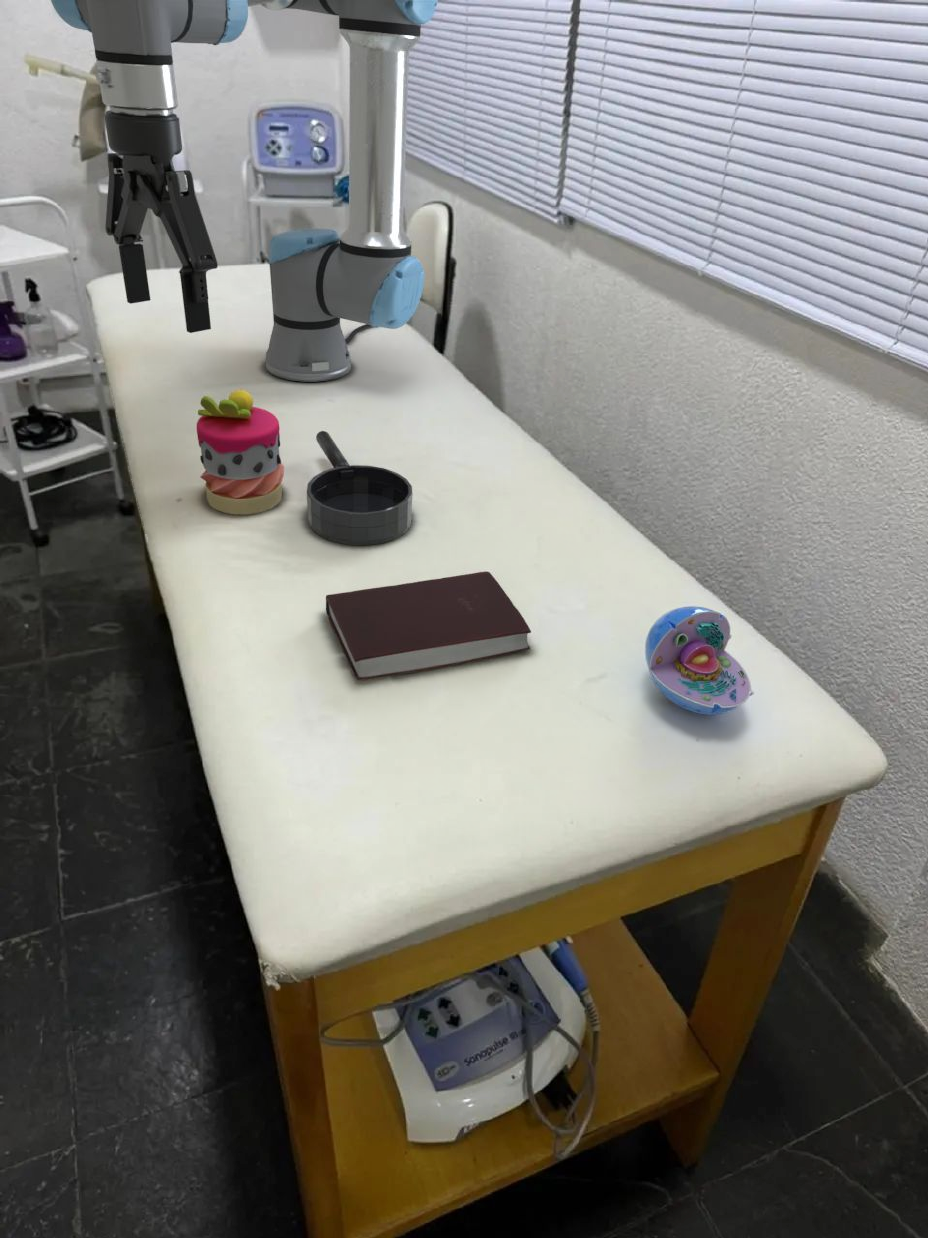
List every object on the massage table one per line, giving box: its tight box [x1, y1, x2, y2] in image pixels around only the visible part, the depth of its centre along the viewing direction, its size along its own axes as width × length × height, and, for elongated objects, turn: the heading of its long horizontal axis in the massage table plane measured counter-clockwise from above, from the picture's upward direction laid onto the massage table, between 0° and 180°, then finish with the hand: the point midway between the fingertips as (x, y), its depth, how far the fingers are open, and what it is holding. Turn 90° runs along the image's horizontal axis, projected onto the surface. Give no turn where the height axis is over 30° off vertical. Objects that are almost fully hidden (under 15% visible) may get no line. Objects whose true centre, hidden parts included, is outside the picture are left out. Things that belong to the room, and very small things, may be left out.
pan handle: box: [315, 430, 354, 479], centre depth 119 cm, size 13×2×2 cm, turn 23°
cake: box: [196, 389, 285, 515], centre depth 110 cm, size 10×10×15 cm
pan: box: [306, 464, 413, 546], centre depth 110 cm, size 13×13×4 cm
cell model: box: [644, 605, 755, 716], centre depth 84 cm, size 10×12×10 cm
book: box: [325, 570, 532, 681], centre depth 92 cm, size 12×19×3 cm, turn 111°
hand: (168, 315), depth 102 cm, fingers open, 13 cm apart
